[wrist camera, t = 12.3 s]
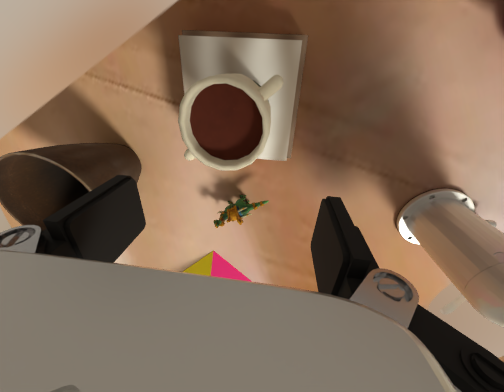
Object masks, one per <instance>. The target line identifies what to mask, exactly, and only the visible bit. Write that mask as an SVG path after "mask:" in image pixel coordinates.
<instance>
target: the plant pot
mask: <svg viewBox="0 0 504 392" xmlns="http://www.w3.org/2000/svg"><path fill="white" fill-rule="evenodd" d="M140 173H141V163H140V160H139V158H138V157H137V155H136V154H135V153H134V152H133V151H132V150H131V149H129V148H128V147H126V146H123V145H119V144H108V143H81V144H67V145H57V146H50V147H43V148H37V149H31V150H25V151H19V152H14V153H9V154H5V155H3V156H1V157H0V202H1V204H2V205H3V207H4V208H5V209H6V210H7V212H8V213H9V214H10V215H11V216H12V217H13V218H14V219H15V220H17V221H18V222H19V223H20V224H21V225H23V226H24V225H36V226H39V227H40V228H41V229H42V231H43V230H45V229H47V228H46V226H45V224H44V222H43V220H44V219H45V218H47V217H49V216H50V215H52V214H54V213H55V212H57V211H59V210H60V209H62V208H64V207H65V206H67V205H68V204H70V203H72V202H73V201H75V200H77V199H78V198H80V197H82V196H83V195H85V194H87V193H88V192H90V191H92V190H93V189H95V188H97V187H98V186H100V185H102V184H103V183H105V182H107V181H108V180H110V179H112V178H113V177H115V176H116V175H126V176H131V177H132V178H133V179H134V180H135V181H136V184H137V182H138V179H139V176H140Z"/></svg>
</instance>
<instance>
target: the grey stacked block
mask: <svg viewBox="0 0 504 392" xmlns="http://www.w3.org/2000/svg"><path fill="white" fill-rule="evenodd" d="M182 34H183V35H178V37H179V46H180V56H181V66H182V75H183V85H184V94H185V93H186V92H187V90H188V89H189V88H190V86H192V85H193V84H194V83H196V82H197V81H199V80H202V79H204V78H206V77H209V76H215V75H219V74H233V73H235V74H242V75H245V76H247V77H248V78H250V79H252V80H253V81H256V82H257V83H258V84H259V85H260V86H262V85H263V84H264V83H265V82H267V81H268V80H269V79H270V78H271V77H273V76H274V75H280V76H281V77H283V82H284V83H283V85H282V87H281V89H279V90H278V91H277V92H276V93H275V94H273V95H272V96H271V97H270V98H268V100H269V104H270V106H271V125H270V134H269V137H268V139H267V142H266V145H265V147H264V150H263V152H262V153H261V154H260V155H259V156H258V158H257V159H268V160H281V161H286V160H287V158H291V153H292V146H293V139H294V132H295V125H296V118H297V111H298V104H299V97H300V90H301V83H302V76H303V69H304V62H305V55H306V48H307V41H308V35H294V34H269V33H244V32H219V31H194V30H182Z"/></svg>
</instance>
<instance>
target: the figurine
mask: <svg viewBox="0 0 504 392" xmlns="http://www.w3.org/2000/svg"><path fill="white" fill-rule="evenodd" d="M245 196H246V195H245ZM245 196H243V195H240V199H239V200H237V202H236V203H235V204H232V202H231V201H228V202H229V203H228V204H230V205H229V206H227V207H226V208H225V211H219V212H218V213H221V215H220V218H219V221H218V220H216V221H215V220H214V224H215V227H216V228H218V226H224V224H225V223H224V221H225V220H226V219H228V220H227V222H230V221H234V220H237V222H238V223H239V224H240V225H241V224H242V223H243V220H241V219H242V218H244V217H246V216H248V215H252V214H247V213H248V212H249V211H250V210H252V209H254V210H255V209H257V207H258V206H263V205H264V204H265V203H267V202H269V201H263V202H262V201H261V202H258V203H252V204H249V201H245V202H244V200H245V199H246V198H245ZM241 197H242V198H241Z"/></svg>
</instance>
